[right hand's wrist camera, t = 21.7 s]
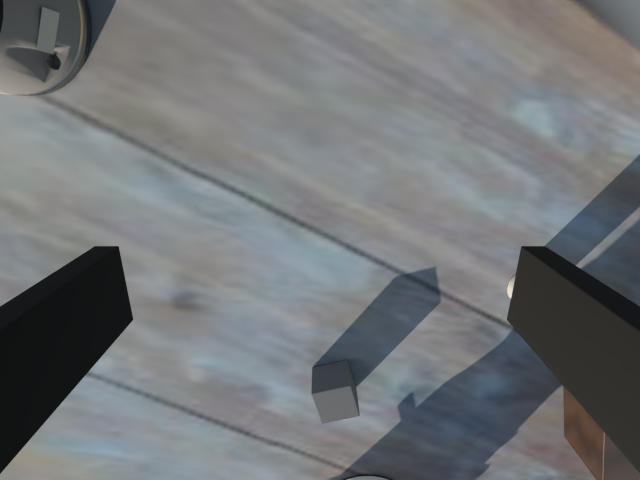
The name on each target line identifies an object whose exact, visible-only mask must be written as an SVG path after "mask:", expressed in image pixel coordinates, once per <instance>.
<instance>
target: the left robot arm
mask: <svg viewBox="0 0 640 480" xmlns="http://www.w3.org/2000/svg"><path fill="white" fill-rule="evenodd" d="M347 480H388V479H385V478H381V477H375V476H360V477H354V478H350V479H347Z"/></svg>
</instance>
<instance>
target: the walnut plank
mask: <svg viewBox="0 0 640 480" xmlns="http://www.w3.org/2000/svg"><path fill="white" fill-rule="evenodd" d="M564 435H565V438H566V439H567V441H568V442H569V443H570V445H571V446H572V447H573V449H574V450H575V452H576V453H577V454H578V456H579V457H580V458H581V460H582V461H583V462H584V464H585V465H586V466H587V468H588V469H589V471H590V472H591V473H592V475H593V476H594V477H595V479H596V480H640V473H639V472H638V471H637V470H636V469H635V468H634V466H633V465H632V464H631V463H630V462H629V461H628V459H627V458H626V457H625V456H624V455H623V454H622V452H621V451H620V450H619V449H618V448H617V447H616V446H615V444H614V443H613V442H612V441H611V440H610V439H609V437H608V436H607V435H606V434H605V433H604V432H603V430H602V429H601V428H600V427H599V426H598V425H597V423H596V422H595V421H594V420H593V419H592V418H591V417H590V415H589V414H588V413H587V412H586V411H585V410H584V408H583V407H582V406H581V405H580V404H579V403H578V401H577V400H576V399H575V398H574V397H573V396H572V395H571V393H570V392H569V391H568V390H567V389H566V388H565V386H564Z"/></svg>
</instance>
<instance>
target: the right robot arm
mask: <svg viewBox="0 0 640 480" xmlns="http://www.w3.org/2000/svg"><path fill="white" fill-rule="evenodd" d="M90 39H91V20H90V13H89V8H88V4H87V0H0V92H1V93H4V94H10V95H29V96H33V95H43V94H48V93H51V92H54V91H56V90H58V89H60V88H62V87H64V86H65V85H66V84H68V83H69V82H70V81H71V80H72V79H73V78H74V77H75V76H76V75H77V74H78V72H79V71H80V69H81V68H82V66H83V64H84V62H85V60H86V57H87V54H88V50H89V46H90ZM132 320H133V317H132V312H131V307H130V302H129V297H128V292H127V287H126V282H125V277H124V272H123V266H122V261H121V256H120V251H119V246H95V247H93V248H92V249H90V250H89V251H87V252H85V253H84V254H82V255H81V256H79V257H78V258H76V259H74V260H73V261H71V262H70V263H68V264H67V265H65V266H63V267H62V268H60V269H59V270H57V271H56V272H54V273H52V274H51V275H49V276H48V277H46V278H45V279H43V280H41V281H40V282H38V283H37V284H35V285H34V286H32V287H30V288H29V289H27V290H26V291H24V292H23V293H21V294H19V295H18V296H16V297H15V298H13V299H12V300H10V301H8V302H7V303H5V304H4V305H2V306H1V307H0V473H1V472H2V471H3V470H4V469H5V468H6V466H7V465H8V464H9V463H10V462H11V461H12V459H13V458H14V457H15V456H16V455H17V454H18V452H19V451H20V450H21V449H22V448H23V447H24V445H25V444H26V443H27V442H28V441H29V440H30V439H31V437H32V436H33V435H34V434H35V433H36V432H37V430H38V429H39V428H40V427H41V426H42V425H43V423H44V422H45V421H46V420H47V419H48V418H49V417H50V415H51V414H52V413H53V412H54V411H55V410H56V408H57V407H58V406H59V405H60V404H61V403H62V401H63V400H64V399H65V398H66V397H67V396H68V395H69V393H70V392H71V391H72V390H73V389H74V388H75V386H76V385H77V384H78V383H79V382H80V381H81V379H82V378H83V377H84V376H85V375H86V374H87V373H88V371H89V370H90V369H91V368H92V367H93V366H94V364H95V363H96V362H97V361H98V360H99V359H100V357H101V356H102V355H103V354H104V353H105V352H106V350H107V349H108V348H109V347H110V346H111V345H112V344H113V342H114V341H115V340H116V339H117V338H118V337H119V335H120V334H121V333H122V332H123V331H124V330H125V328H126V327H127V326H128V325H129V324H130V323H131V322H132ZM507 320H508V322H509V323H510V324H511V325H512V326H513V327H514V328H515V330H516V331H517V332H518V333H519V334H520V335H521V337H522V338H523V339H524V340H525V341H526V342H527V344H528V345H529V346H530V347H531V348H532V349H533V350H534V352H535V353H536V354H537V355H538V356H539V357H540V359H541V360H542V361H543V362H544V363H545V364H546V366H547V367H548V368H549V369H550V370H551V371H552V373H553V374H554V375H555V376H556V377H557V378H558V379H559V381H560V382H561V383H562V384H563V385H564V386H565V388H566V389H567V390H568V391H569V392H570V393H571V395H572V396H573V397H574V398H575V399H576V400H577V401H578V403H579V404H580V405H581V406H582V407H583V408H584V410H585V411H586V412H587V413H588V414H589V415H590V417H591V418H592V419H593V420H594V421H595V422H596V423H597V425H598V426H599V427H600V428H601V429H602V430H603V432H604V433H605V434H606V435H607V436H608V437H609V439H610V440H611V441H612V442H613V443H614V444H615V446H616V447H617V448H618V449H619V450H620V451H621V452H622V454H623V455H624V456H625V457H626V458H627V459H628V461H629V462H630V463H631V464H632V465H633V466H634V468H635V469H636V470H637V471H638V472H639V473H640V307H639V306H638V305H636V304H635V303H633V302H632V301H630V300H628V299H627V298H625V297H624V296H622V295H621V294H619V293H617V292H616V291H614V290H613V289H611V288H610V287H608V286H606V285H605V284H603V283H602V282H600V281H599V280H597V279H595V278H594V277H592V276H591V275H589V274H588V273H586V272H584V271H583V270H581V269H580V268H578V267H577V266H575V265H573V264H572V263H570V262H569V261H567V260H566V259H564V258H562V257H561V256H559V255H558V254H556V253H555V252H553V251H551V250H550V249H548V248H547V247H545V246H521V251H520V256H519V261H518V266H517V272H516V277H515V282H514V287H513V292H512V297H511V302H510V307H509V312H508V317H507Z"/></svg>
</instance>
